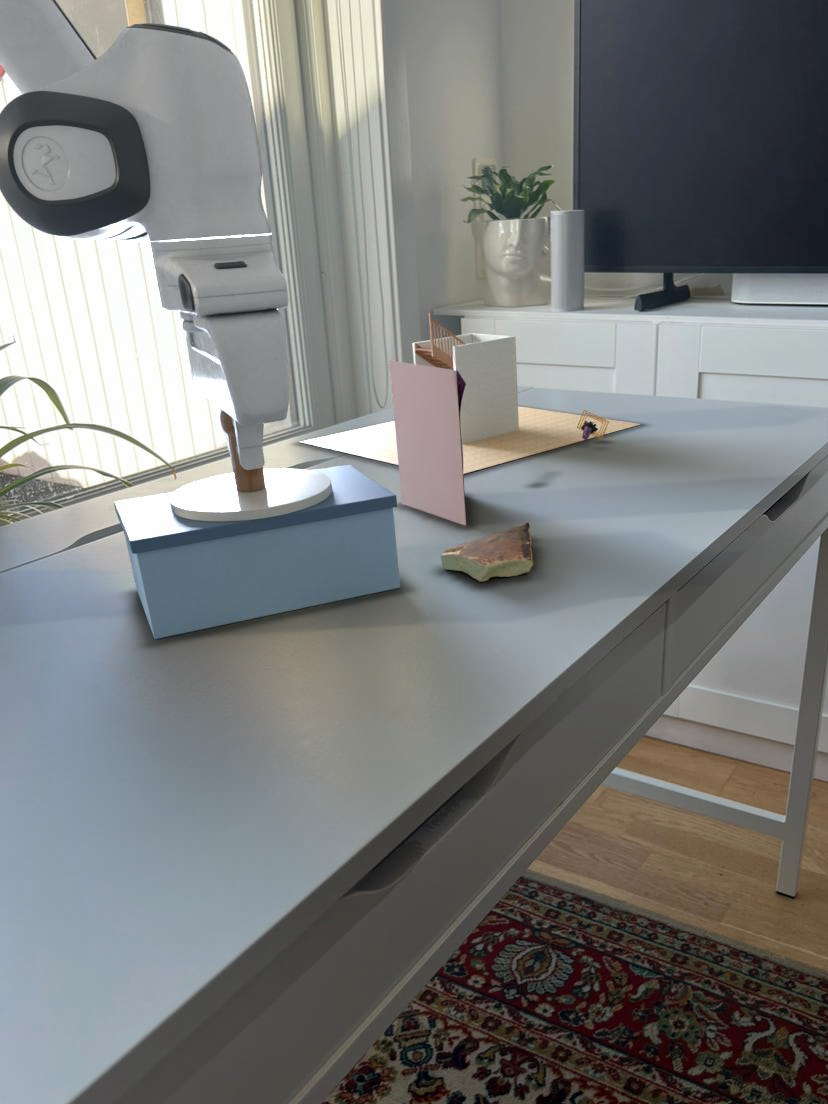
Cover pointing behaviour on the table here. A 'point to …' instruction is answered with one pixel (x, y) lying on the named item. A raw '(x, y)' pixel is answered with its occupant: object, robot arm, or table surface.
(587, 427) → the framed picture
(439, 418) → the greeting card
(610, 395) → the table surface
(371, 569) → the storage container
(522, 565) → the shard
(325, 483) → the peg on round base
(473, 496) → the table surface
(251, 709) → the table surface
